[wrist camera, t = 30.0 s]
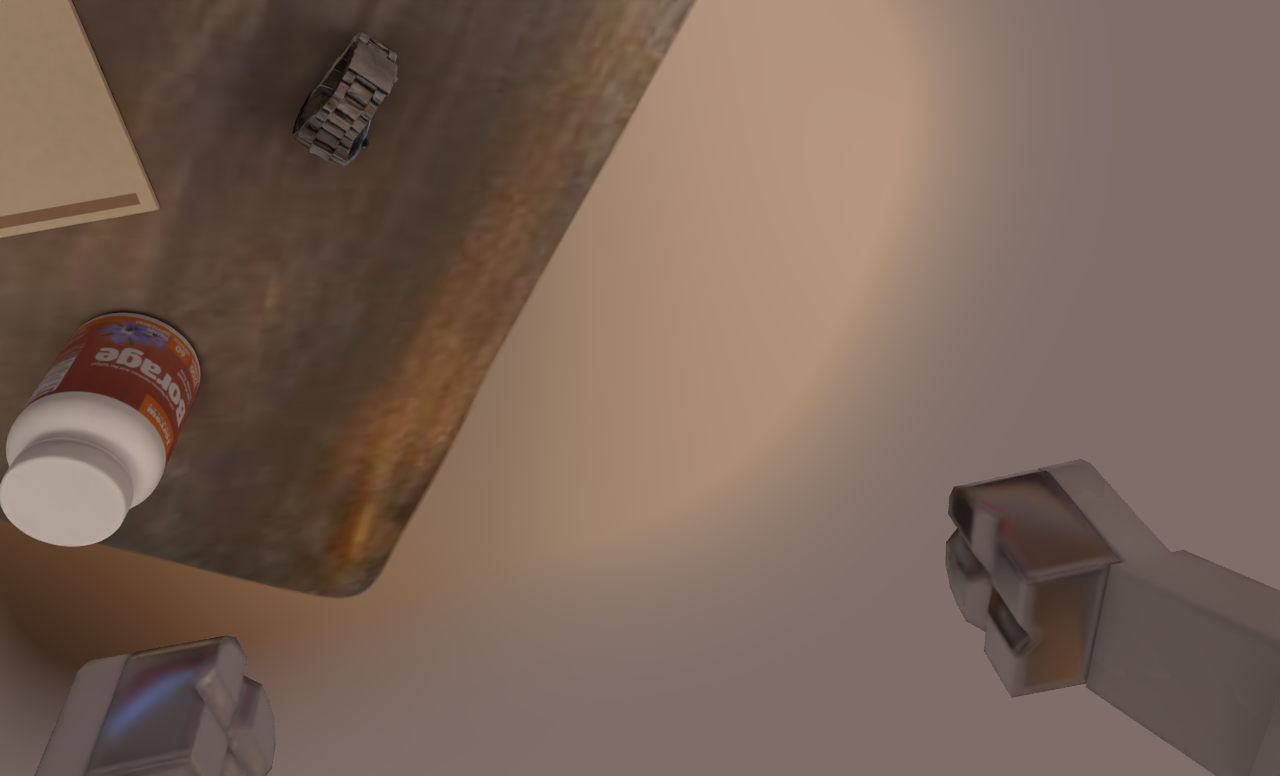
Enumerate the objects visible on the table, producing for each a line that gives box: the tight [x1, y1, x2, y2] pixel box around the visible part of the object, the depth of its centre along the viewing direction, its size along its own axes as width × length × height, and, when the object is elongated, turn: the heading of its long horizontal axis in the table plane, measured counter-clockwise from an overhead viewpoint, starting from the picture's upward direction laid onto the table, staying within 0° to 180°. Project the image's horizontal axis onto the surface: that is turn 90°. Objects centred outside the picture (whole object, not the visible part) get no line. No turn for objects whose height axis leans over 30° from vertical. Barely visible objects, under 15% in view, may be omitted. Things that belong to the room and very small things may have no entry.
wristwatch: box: [293, 32, 398, 166], centre depth 42 cm, size 3×5×5 cm
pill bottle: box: [0, 313, 200, 546], centre depth 44 cm, size 6×6×11 cm
